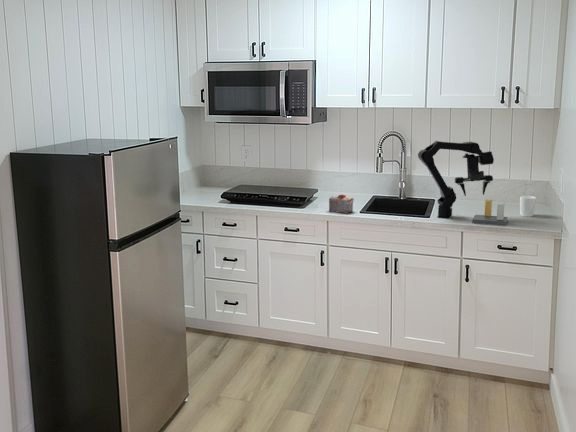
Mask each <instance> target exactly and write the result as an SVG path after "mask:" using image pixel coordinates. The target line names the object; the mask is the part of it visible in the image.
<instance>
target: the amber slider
mask: <svg viewBox="0 0 576 432" xmlns="http://www.w3.org/2000/svg"><path fill="white" fill-rule="evenodd" d="M484 202H485V203H484V215H485V216H488V217H491V216H492V211H493V209H492V208H493V200H492V199H485V201H484Z"/></svg>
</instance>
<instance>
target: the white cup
mask: <svg viewBox="0 0 576 432" xmlns="http://www.w3.org/2000/svg"><path fill="white" fill-rule="evenodd" d="M536 200H537V197H536V196H532V195H521V196H520V197H519V216H521V217H527V218H528V217H529V218H531V217H534V214H535V208H536Z"/></svg>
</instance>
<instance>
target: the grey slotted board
mask: <svg viewBox="0 0 576 432" xmlns="http://www.w3.org/2000/svg"><path fill="white" fill-rule="evenodd" d="M508 219H509V218H508V216H504V219H503V220H497V215H491V217H488V216H485V214H475V215H474V216H473V217H472V221H471V224H480V225H489V226H490V225H494V226H504V227H505V226H506V225H507V223H508Z"/></svg>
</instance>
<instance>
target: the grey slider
mask: <svg viewBox="0 0 576 432" xmlns="http://www.w3.org/2000/svg"><path fill="white" fill-rule="evenodd" d="M496 208H497V209H496V216H497V220H503V219H504V217H505V202H498V203H497V207H496Z"/></svg>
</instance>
